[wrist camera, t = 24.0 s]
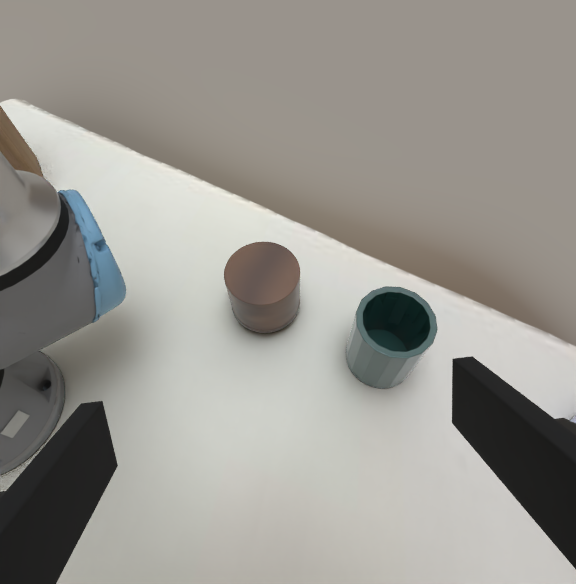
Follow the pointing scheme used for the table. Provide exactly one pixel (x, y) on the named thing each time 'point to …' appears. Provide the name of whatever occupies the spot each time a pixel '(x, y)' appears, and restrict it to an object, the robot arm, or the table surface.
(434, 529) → the table surface
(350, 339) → the canister
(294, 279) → the lid
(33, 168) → the wooden block
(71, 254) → the robot arm
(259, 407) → the table surface
